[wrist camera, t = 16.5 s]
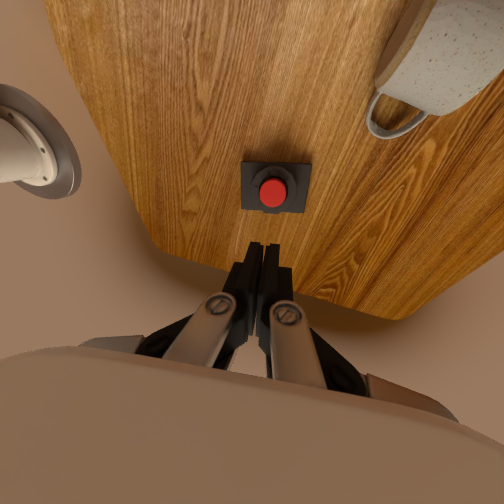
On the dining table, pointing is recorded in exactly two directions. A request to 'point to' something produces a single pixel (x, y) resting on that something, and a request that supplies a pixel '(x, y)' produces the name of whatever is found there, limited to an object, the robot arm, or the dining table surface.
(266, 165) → the pad
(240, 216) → the dining table surface
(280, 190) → the button
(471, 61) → the ceramic mug
